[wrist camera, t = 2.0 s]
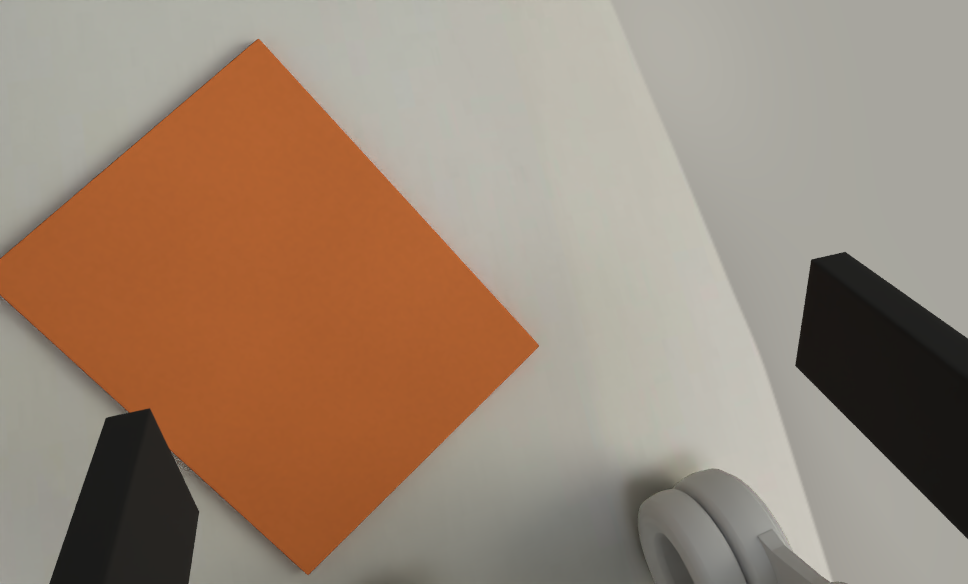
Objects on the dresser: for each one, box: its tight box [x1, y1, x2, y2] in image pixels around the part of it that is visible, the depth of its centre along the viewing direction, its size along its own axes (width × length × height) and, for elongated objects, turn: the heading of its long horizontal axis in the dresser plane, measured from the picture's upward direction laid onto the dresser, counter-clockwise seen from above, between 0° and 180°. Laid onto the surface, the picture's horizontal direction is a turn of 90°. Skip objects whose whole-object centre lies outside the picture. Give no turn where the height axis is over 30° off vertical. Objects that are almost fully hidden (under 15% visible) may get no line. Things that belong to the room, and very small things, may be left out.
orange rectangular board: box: [0, 39, 539, 575], centre depth 34 cm, size 20×16×1 cm
